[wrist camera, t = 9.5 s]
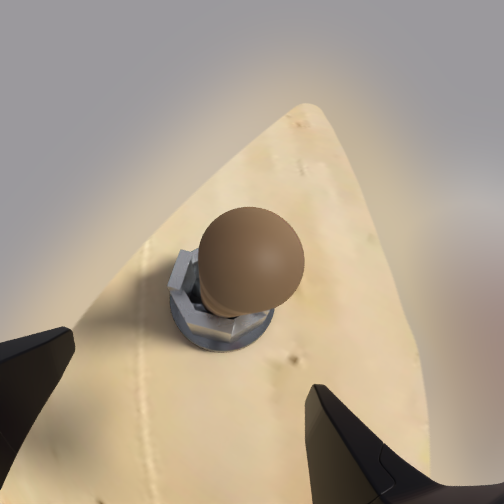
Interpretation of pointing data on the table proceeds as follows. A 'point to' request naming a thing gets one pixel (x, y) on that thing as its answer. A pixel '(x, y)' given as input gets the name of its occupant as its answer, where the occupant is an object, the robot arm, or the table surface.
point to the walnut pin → (248, 262)
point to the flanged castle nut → (200, 321)
